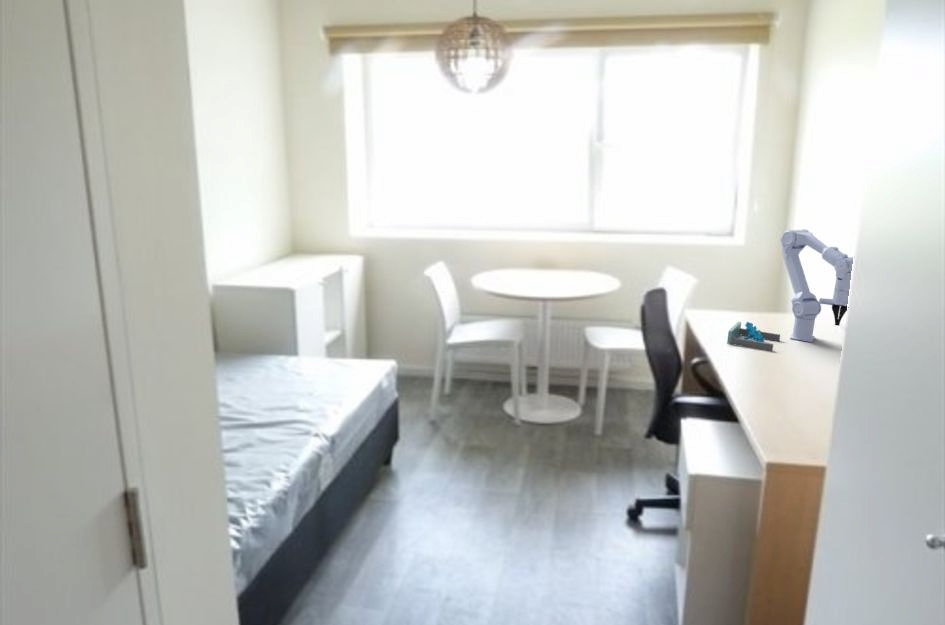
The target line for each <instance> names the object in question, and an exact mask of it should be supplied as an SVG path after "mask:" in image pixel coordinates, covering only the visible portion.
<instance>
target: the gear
mask: <svg viewBox="0 0 945 625" xmlns="http://www.w3.org/2000/svg"><path fill="white" fill-rule="evenodd" d="M745 329H746V330H747V331H749V336H745V337H744V338H743V339H746V340H752V339H753V341H758V342H764V343H765V339H763V336H762V335H760V334H761V333H760V332H762V331H761V330H760V329H758V327H757V326H756V325H754V324H753V323H752V322H749V321H747V322H746V323H745Z"/></svg>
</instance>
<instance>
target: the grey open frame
mask: <svg viewBox="0 0 945 625" xmlns="http://www.w3.org/2000/svg"><path fill="white" fill-rule="evenodd" d="M727 332H728V333H727V334H728V335H727V342H726V344H728V343H729V345H734V344H736V345H735V346H739V345H742V346H741V347H745V346H747V348H751V347H752V348H753V349H757V348H758V350H763V349H765V350H764V351H769V350H770V351H769V352H773V348H774V343H769V342H765V341H764V342H758V341H757V340H752V339H747V340H746V339H744V338H739V337H737V336H739V334H742V335H741V336H744V335H747V336H749V331H747V330H746V328H742V322H741V321H738V322H737V323H735V324H734V325H733V326H732V327H731V328H730V329H729V330H728V331H727ZM760 333H761V334H760V335H762V336H763V338H765V339H764V340H769V339H770V341H775V340H776V341H775V342H780V339H781V334H780V333H779V334H778V333H772V332H766V331H761V332H760ZM747 336H746V337H747ZM736 337H737V338H736Z"/></svg>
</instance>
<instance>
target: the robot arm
mask: <svg viewBox="0 0 945 625" xmlns="http://www.w3.org/2000/svg"><path fill="white" fill-rule="evenodd" d="M780 243H781V246H782V257H783V260H784V264H785V266H786V267H785V268H786V271H787V274H788V276H789V281H790V284H791V286H792V290H793V293H794V297H793V298H792V299H791V306H792V308H791V311H792V313H793V315H794V323H793V330H792V334H791V335H790V337H789V339H790V340H797V341H803V342H809V343H812V342H813V341H814V339H815V335H814V327H815V324H816V323H815V321H816V318H817V317H818V315H819V314H821V311H822V305H828V306H831V311H832V313H833V318H834V326H837V327H838V326H840V325H841V324H840V323H841V320H842V318H843V317H844V315H845V313H846V312H847V311H848V310H847V304H848V296H849V289H850V280H851V271H852V264H853V257H854V256H852V257H849V255H848V254H846V253H844V252H842V251H840V250H839V248H838V246H827V245H826V244H825V243H824V242H822V241H821V240H820V239H818V238H817V237H816V236H815V235H814V233H813V232H811V231H809V230H808V229H796V230H795V229H787V230H785V231H784V232H783V233H782V236H781V237H780ZM806 246H807V247H809V248H811V249H813V251H815V252H818V253H819V254H821V258H822V259H823V260H824V261H825V262H827V263H828V264H830V265H831V266H832V267H833V268H834V270H835V276H836V277H835V278H836V279H835V283H834V290H833V297H832V298H823V297H820V298H819V300H818V299H817V296H816V295H815V294H814V293H813V292H811V291H810V288H809V284H808V282H807V281H808V280H807V279H806V275H805V271H804V269H803V266H802V263H801V262H802V261H801V259H800V256H799V255H800V253H801V252H802V251H803V250H804V249H805V247H806Z"/></svg>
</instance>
